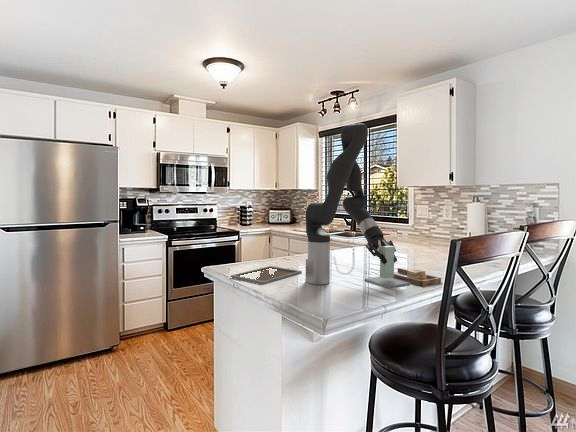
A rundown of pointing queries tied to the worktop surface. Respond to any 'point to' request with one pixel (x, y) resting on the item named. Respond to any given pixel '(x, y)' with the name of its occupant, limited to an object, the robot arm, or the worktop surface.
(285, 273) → the dark grey tray
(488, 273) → the worktop surface
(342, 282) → the worktop surface
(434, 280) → the walnut rack
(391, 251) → the sage green block
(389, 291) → the worktop surface
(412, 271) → the oak offcut stack
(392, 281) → the slate tile
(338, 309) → the worktop surface
